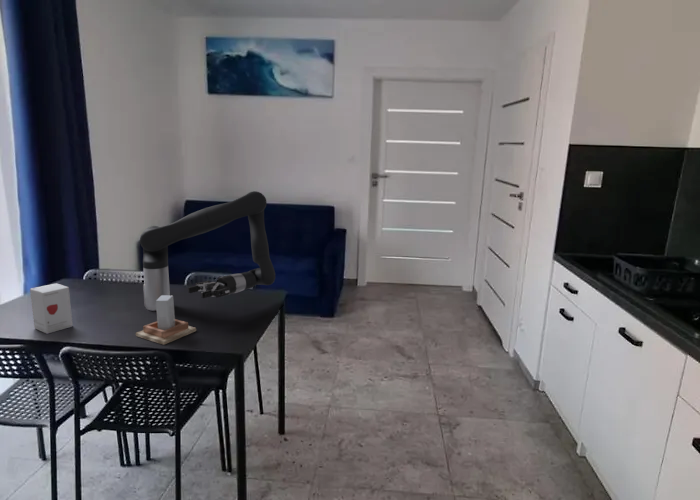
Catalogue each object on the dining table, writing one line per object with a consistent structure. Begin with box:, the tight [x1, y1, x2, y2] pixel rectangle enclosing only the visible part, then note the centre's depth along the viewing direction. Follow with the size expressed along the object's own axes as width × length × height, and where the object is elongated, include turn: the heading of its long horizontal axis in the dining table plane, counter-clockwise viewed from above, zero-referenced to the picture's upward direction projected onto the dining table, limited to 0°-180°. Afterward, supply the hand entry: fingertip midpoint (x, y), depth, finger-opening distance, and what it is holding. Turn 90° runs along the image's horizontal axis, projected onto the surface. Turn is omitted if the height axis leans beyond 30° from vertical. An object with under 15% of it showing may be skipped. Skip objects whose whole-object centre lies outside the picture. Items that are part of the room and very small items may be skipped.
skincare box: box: [156, 294, 176, 330], centre depth 158 cm, size 6×4×12 cm
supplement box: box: [29, 282, 73, 334], centre depth 161 cm, size 9×9×15 cm
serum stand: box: [135, 318, 197, 345], centre depth 159 cm, size 14×14×3 cm
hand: (195, 292), depth 167 cm, fingers open, 8 cm apart
